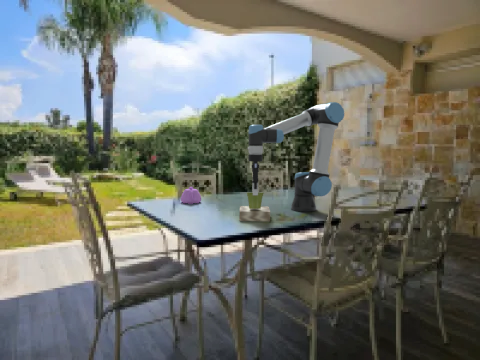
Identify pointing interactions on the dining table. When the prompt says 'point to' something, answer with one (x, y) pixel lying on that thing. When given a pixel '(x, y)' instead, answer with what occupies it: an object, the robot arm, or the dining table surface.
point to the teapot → (191, 196)
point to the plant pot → (254, 200)
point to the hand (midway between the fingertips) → (255, 193)
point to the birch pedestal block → (254, 214)
